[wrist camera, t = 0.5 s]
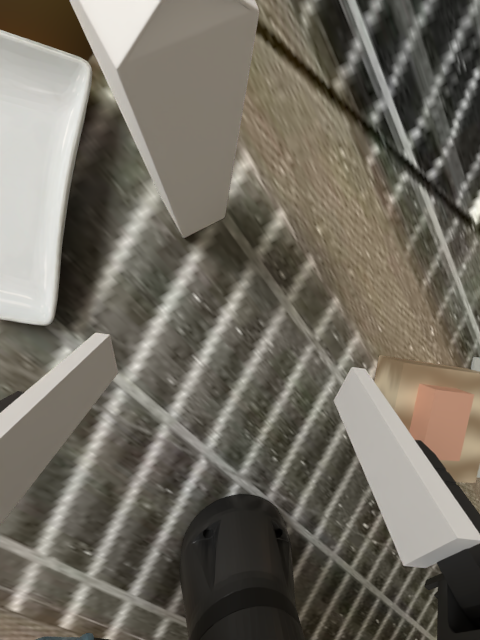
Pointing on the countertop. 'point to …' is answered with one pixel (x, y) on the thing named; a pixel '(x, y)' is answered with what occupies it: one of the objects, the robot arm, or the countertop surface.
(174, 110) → the milk
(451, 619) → the robot arm
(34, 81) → the square plate
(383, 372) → the board
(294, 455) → the countertop surface
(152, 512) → the countertop surface
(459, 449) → the pink block
